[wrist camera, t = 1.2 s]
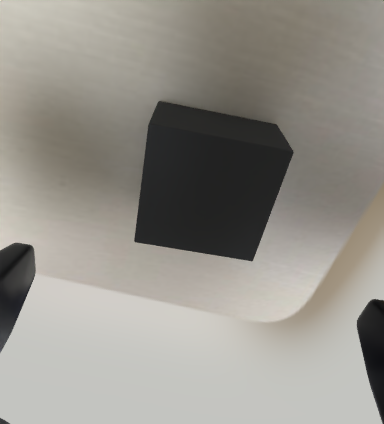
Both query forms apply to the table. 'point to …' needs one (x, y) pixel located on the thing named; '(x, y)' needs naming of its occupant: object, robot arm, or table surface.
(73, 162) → the table surface
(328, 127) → the table surface
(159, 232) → the black block
